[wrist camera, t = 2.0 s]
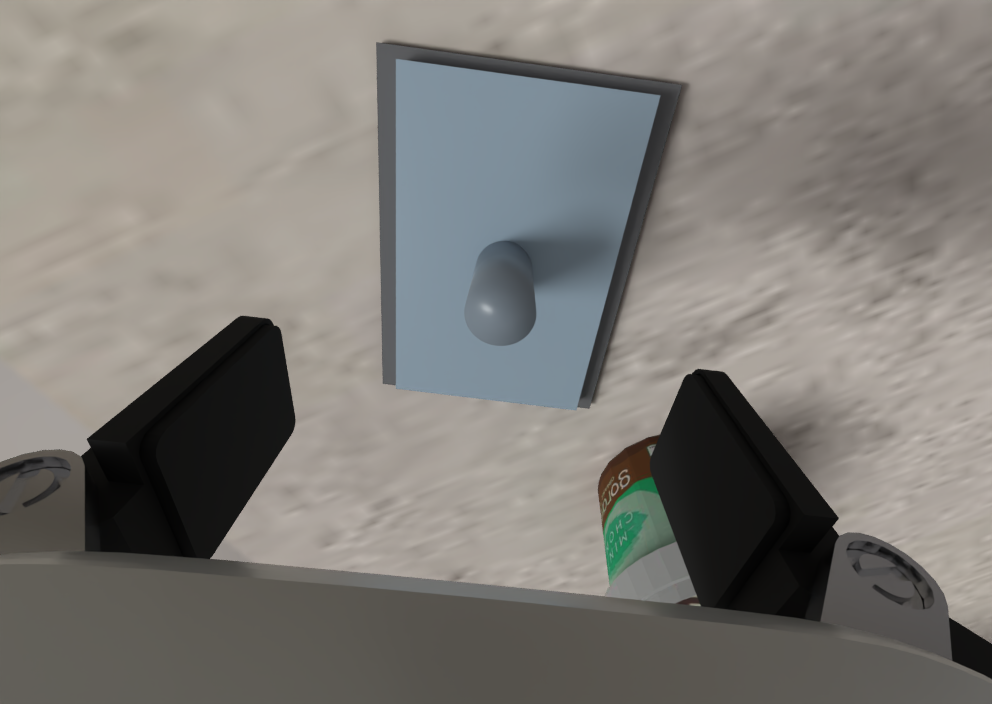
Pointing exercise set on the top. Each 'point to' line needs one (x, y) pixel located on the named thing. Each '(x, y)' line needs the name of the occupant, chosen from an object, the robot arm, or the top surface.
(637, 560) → the food container
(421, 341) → the lid
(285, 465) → the top surface
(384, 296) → the mat
